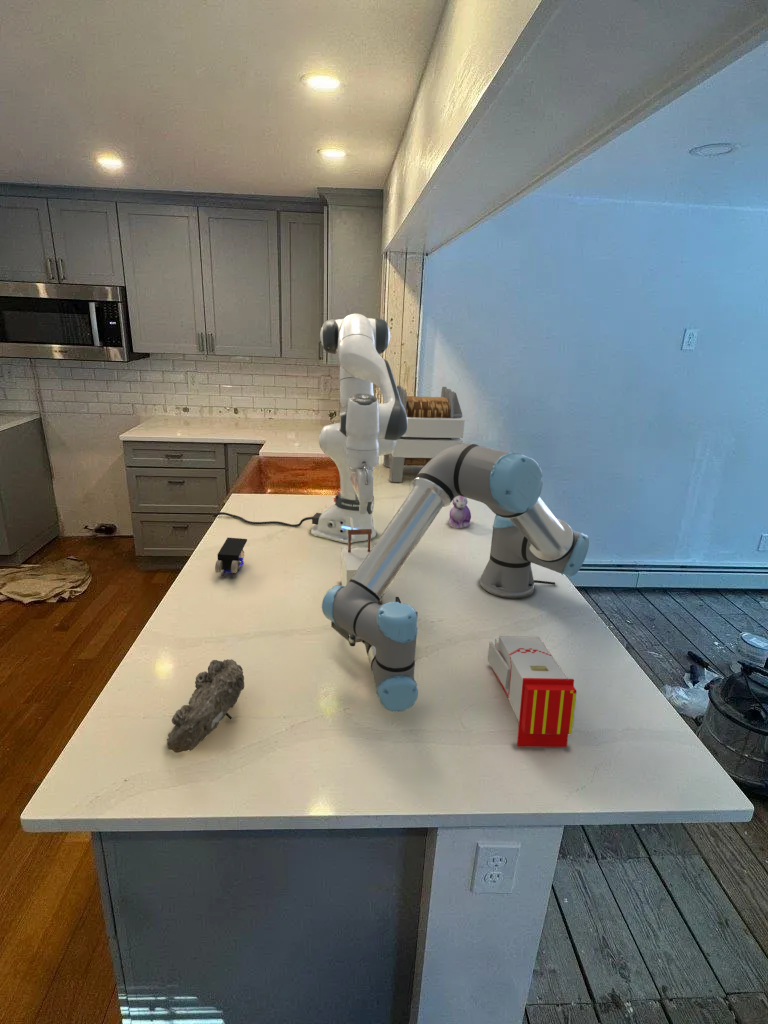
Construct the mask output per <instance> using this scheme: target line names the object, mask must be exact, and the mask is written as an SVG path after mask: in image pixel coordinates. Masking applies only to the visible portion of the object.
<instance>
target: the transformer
mask: <svg viewBox="0 0 768 1024" xmlns="http://www.w3.org/2000/svg"><path fill="white" fill-rule="evenodd" d="M396 386H397V390H398V393H399V396H400V399H401V402H402V404H403V406H404V408H405V411H406V414H407V419H408V425H407V431H406V433H405V434H404V435H403V436H402V437H400V438H399V439H398V440H397V442H396V446H395V448H394V450H393V451H392V452H391V453H390V454H386V455H383V466H384V467H388V468H389V475H388V476H389V477H388V478H389V480H390V482H391V483H402V482H403V475H404V469H405V466H406V467H407V466H411V467H412V466H413V467H415V466H416V467H417V466H418V467H424V466H425V465H426V464H427V463H428V462H429V461H430V460H431V459H432V458H434V457H435V456H436V455H438V454H439V453H441V452H442V451H443V450H445V449H447V448H449V447H452V446H454V445H457V444H463V442H464V441H463V440H462V439H463V438H464V431H465V430H464V429H465V419H464V418H463V411H462V408H461V405H460V402H459V398H458V395H457V392H455V391H453V390H452V389H451V388H447V386H442V387H441V392H440V393H441V394H440V396H415V395H414V396H413V395H412V396H411V395H407V394H408V393H407V390H406V389H404V388H403V387H402V385H399V384H398V385H396Z"/></svg>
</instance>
